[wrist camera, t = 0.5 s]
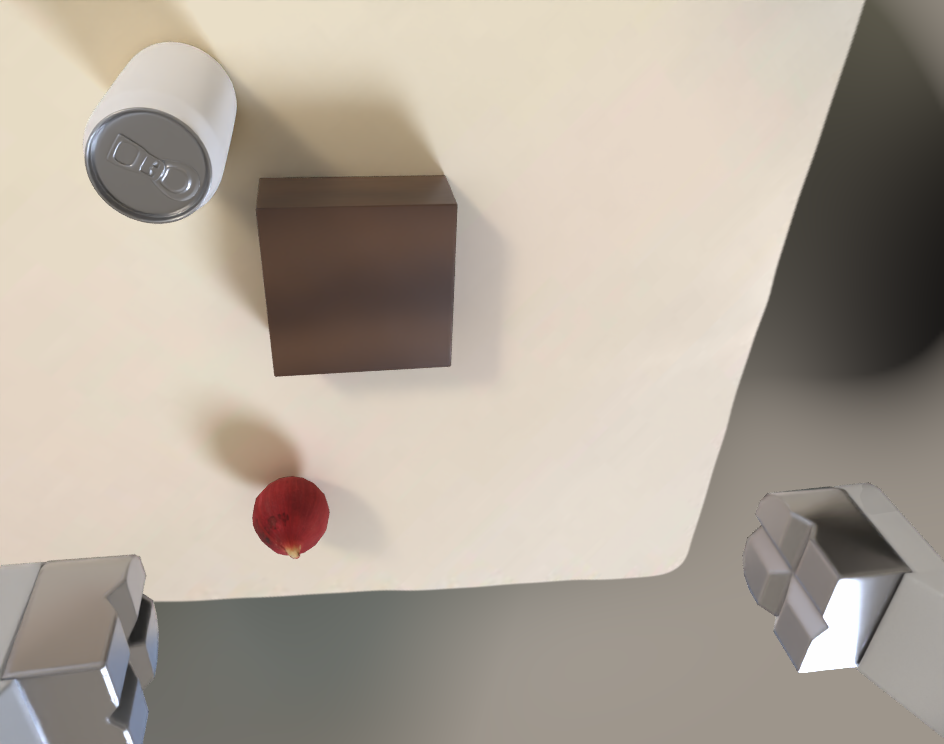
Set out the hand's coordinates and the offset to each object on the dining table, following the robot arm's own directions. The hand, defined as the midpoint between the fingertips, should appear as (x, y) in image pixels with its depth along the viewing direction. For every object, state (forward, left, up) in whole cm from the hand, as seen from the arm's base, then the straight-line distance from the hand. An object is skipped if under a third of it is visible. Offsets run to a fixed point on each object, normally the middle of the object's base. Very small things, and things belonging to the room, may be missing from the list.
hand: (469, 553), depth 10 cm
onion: (+37, -6, -43) cm, 57 cm away
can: (+6, -10, -43) cm, 44 cm away
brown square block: (+17, 0, -43) cm, 46 cm away
